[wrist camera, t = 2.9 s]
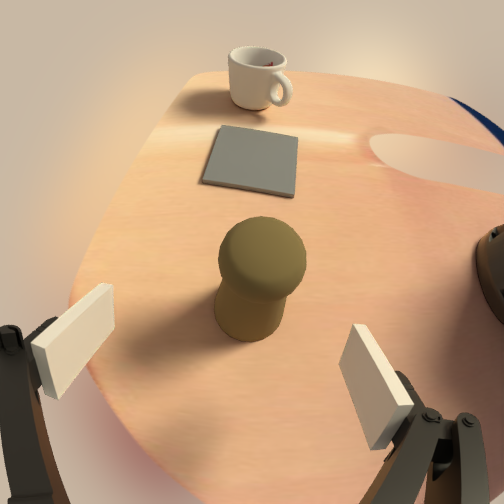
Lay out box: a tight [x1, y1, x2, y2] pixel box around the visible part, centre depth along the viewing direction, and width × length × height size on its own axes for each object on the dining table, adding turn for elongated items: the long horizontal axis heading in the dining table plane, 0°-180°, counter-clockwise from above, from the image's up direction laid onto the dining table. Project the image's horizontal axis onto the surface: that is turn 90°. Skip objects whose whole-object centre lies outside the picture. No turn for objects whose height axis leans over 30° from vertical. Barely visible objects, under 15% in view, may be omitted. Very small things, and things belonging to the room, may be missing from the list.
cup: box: [228, 46, 293, 110], centre depth 37 cm, size 11×8×8 cm
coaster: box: [203, 125, 298, 198], centre depth 34 cm, size 10×10×1 cm
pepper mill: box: [214, 216, 306, 342], centre depth 21 cm, size 6×6×11 cm
